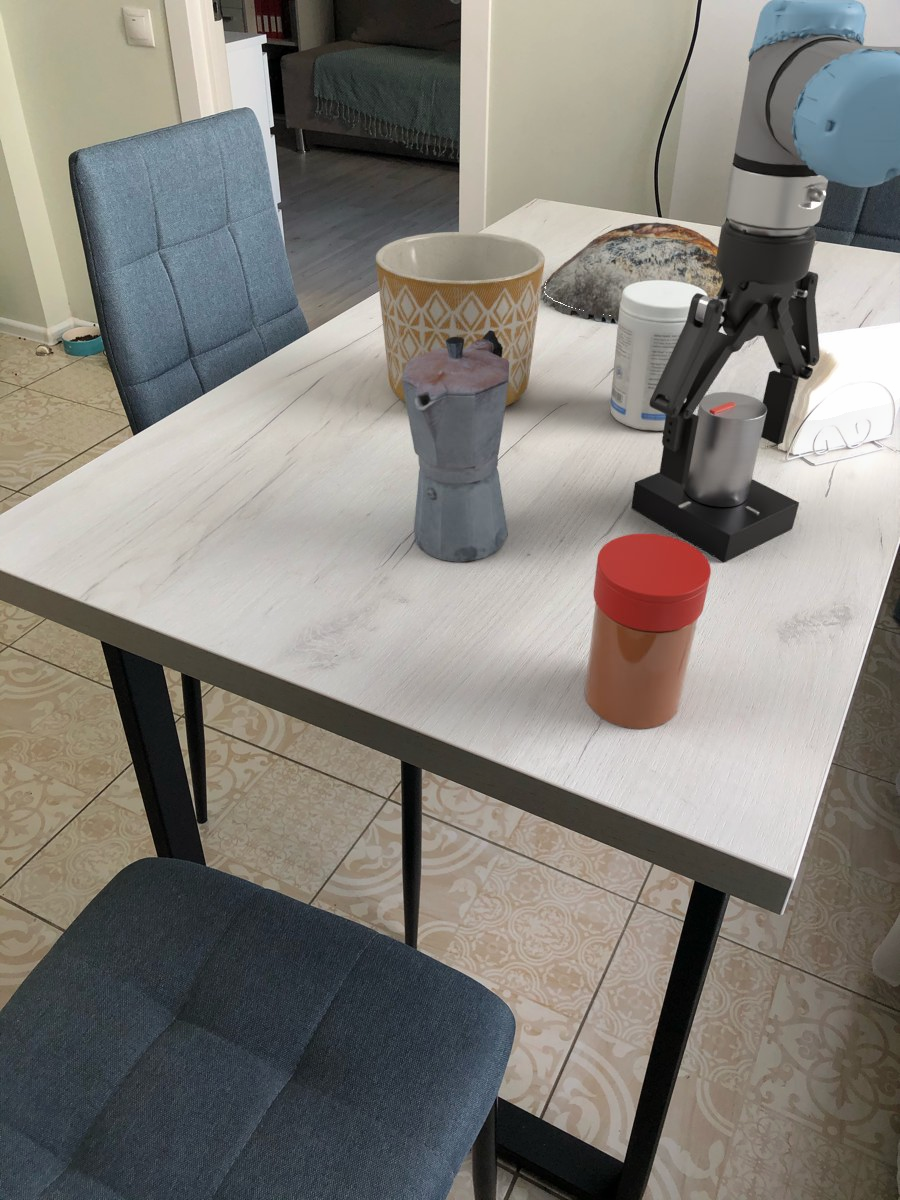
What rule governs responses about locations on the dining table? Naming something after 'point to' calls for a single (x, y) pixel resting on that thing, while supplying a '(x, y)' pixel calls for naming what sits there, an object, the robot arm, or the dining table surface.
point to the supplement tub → (646, 347)
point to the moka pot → (458, 447)
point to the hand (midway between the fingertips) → (722, 458)
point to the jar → (636, 672)
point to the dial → (725, 448)
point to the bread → (631, 267)
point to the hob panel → (715, 516)
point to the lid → (651, 582)
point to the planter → (459, 298)
